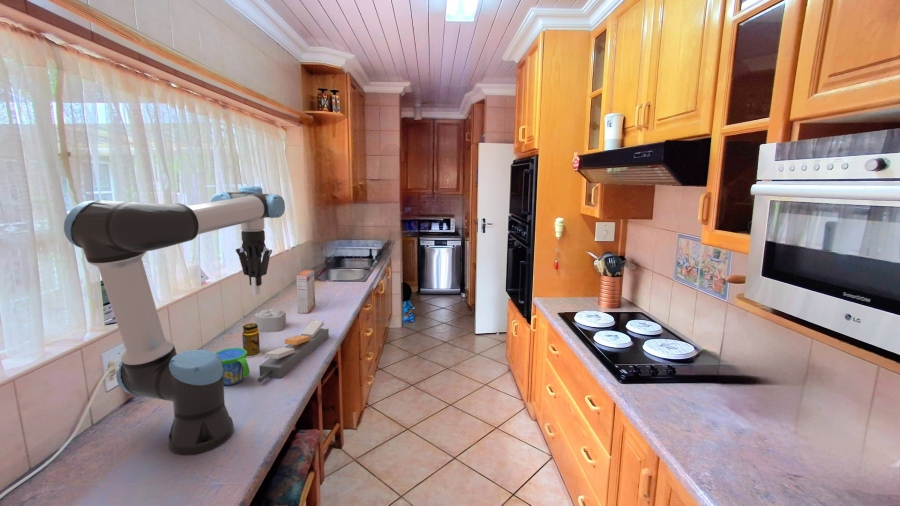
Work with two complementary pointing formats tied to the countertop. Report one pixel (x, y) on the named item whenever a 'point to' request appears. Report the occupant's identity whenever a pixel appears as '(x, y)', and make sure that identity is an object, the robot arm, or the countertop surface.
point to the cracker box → (305, 291)
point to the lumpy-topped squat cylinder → (270, 320)
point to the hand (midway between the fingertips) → (256, 294)
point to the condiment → (251, 340)
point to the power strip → (291, 357)
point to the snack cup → (233, 365)
